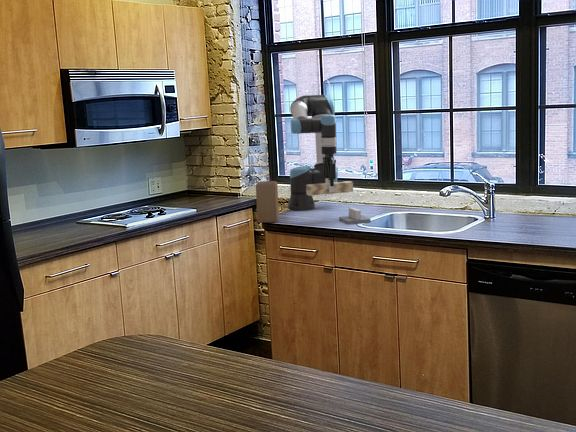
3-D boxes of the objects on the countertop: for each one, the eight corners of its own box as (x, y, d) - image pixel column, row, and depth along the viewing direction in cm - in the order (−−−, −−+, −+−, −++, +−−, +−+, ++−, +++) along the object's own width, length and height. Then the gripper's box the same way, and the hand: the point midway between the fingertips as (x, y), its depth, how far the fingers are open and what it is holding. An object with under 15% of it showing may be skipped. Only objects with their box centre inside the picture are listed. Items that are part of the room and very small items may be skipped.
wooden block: (279, 218, 348) (277, 180, 344) (276, 222, 338) (275, 183, 335) (259, 219, 349) (258, 181, 345) (257, 223, 339) (255, 184, 336)
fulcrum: (339, 219, 340) (339, 208, 339) (361, 217, 344) (361, 206, 342) (347, 224, 329) (347, 212, 328) (370, 222, 332) (370, 210, 331)
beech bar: (309, 195, 337) (308, 185, 336) (306, 194, 340) (306, 184, 339) (353, 191, 344) (353, 182, 343) (350, 190, 348) (349, 181, 347)
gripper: (316, 144, 344) (317, 189, 349) (327, 147, 328) (328, 194, 333) (330, 144, 346) (331, 188, 351) (341, 146, 330) (342, 193, 335)
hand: (329, 191), depth 342 cm, fingers closed on beech bar, 4 cm apart
